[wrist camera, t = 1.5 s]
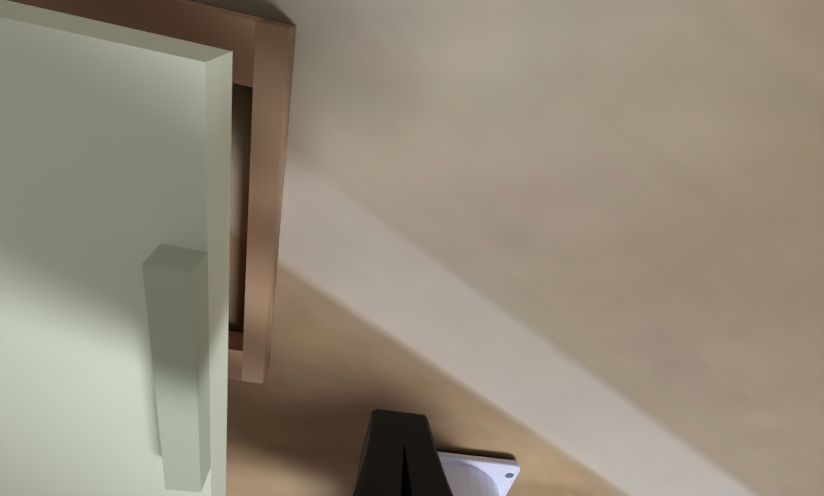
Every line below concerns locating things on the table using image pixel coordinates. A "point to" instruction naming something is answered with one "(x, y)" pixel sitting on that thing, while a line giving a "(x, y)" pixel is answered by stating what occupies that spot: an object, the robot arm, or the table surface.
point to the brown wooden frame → (271, 80)
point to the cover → (112, 259)
